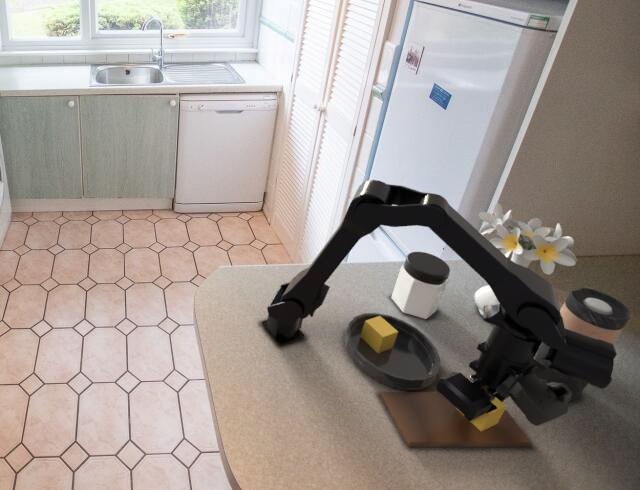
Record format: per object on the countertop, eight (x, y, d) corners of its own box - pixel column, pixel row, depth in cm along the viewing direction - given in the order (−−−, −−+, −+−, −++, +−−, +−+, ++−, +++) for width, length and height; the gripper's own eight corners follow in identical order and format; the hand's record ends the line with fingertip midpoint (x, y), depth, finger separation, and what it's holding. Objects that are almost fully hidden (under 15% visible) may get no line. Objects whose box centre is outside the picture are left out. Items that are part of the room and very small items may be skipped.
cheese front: (481, 431, 75) (490, 414, 74) (455, 407, 79) (463, 390, 77) (497, 423, 77) (506, 406, 75) (471, 400, 81) (479, 383, 79)
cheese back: (377, 353, 91) (383, 337, 89) (360, 336, 94) (365, 320, 92) (392, 347, 92) (398, 331, 90) (374, 331, 96) (379, 315, 94)
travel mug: (585, 409, 80) (639, 326, 72) (530, 389, 84) (575, 307, 75) (575, 377, 86) (623, 297, 78) (524, 359, 90) (565, 281, 81)
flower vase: (478, 281, 110) (515, 193, 100) (557, 341, 94) (612, 243, 83) (433, 289, 108) (466, 199, 97) (506, 352, 91) (555, 252, 81)
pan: (391, 403, 81) (395, 391, 80) (326, 336, 95) (329, 324, 94) (455, 376, 86) (460, 364, 85) (385, 316, 100) (388, 305, 99)
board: (407, 446, 74) (409, 442, 74) (380, 396, 83) (381, 392, 82) (528, 446, 74) (531, 442, 74) (489, 396, 83) (491, 391, 82)
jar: (421, 324, 98) (438, 281, 93) (385, 301, 104) (398, 260, 99) (442, 307, 102) (458, 265, 97) (405, 286, 109) (419, 246, 103)
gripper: (526, 414, 61) (487, 482, 68) (608, 373, 67) (565, 439, 74) (448, 350, 71) (421, 415, 78) (527, 319, 77) (495, 382, 83)
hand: (476, 414), depth 78 cm, fingers open, 4 cm apart
